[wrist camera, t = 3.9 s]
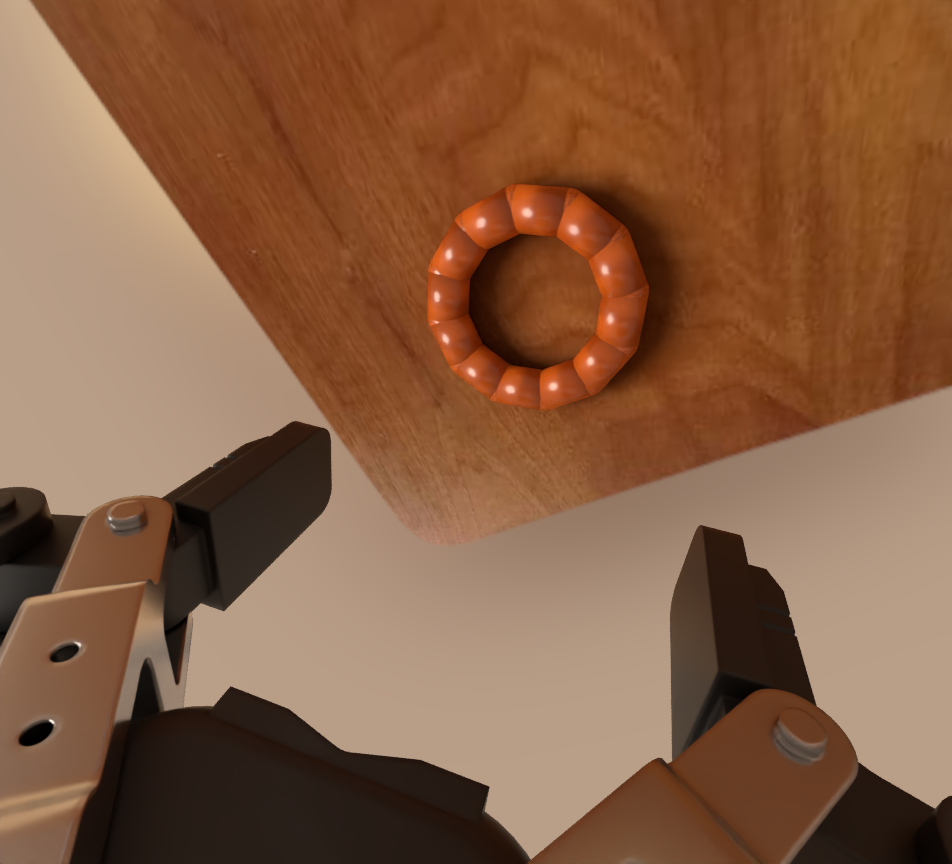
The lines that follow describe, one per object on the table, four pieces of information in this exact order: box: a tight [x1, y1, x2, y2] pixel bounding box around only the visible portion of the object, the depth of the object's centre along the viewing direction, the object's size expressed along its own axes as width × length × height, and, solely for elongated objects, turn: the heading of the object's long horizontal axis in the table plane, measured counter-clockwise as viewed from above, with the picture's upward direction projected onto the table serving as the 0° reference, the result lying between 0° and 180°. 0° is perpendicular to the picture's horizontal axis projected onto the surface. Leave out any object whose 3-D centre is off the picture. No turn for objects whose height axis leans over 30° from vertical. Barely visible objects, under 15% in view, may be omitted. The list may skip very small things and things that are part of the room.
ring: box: [428, 184, 649, 411], centre depth 23 cm, size 9×9×2 cm
